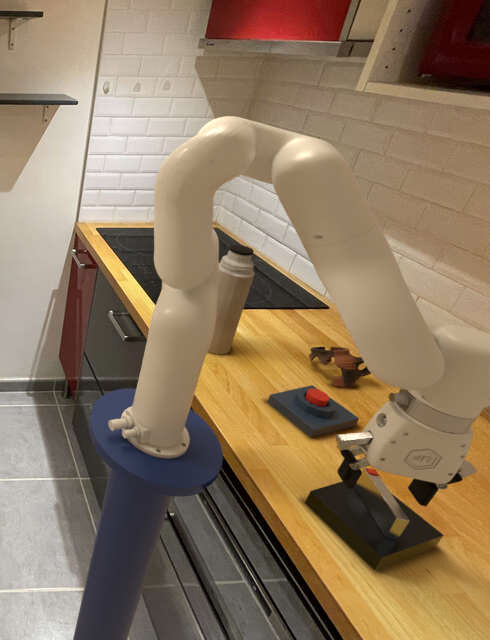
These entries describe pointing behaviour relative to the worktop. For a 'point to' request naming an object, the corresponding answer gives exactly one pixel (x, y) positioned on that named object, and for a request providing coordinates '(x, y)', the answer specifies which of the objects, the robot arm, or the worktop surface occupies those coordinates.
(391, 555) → the base
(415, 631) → the worktop surface
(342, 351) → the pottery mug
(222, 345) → the thermos bottle
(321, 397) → the button
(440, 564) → the worktop surface
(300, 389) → the red push button box
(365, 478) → the silver lever handle
